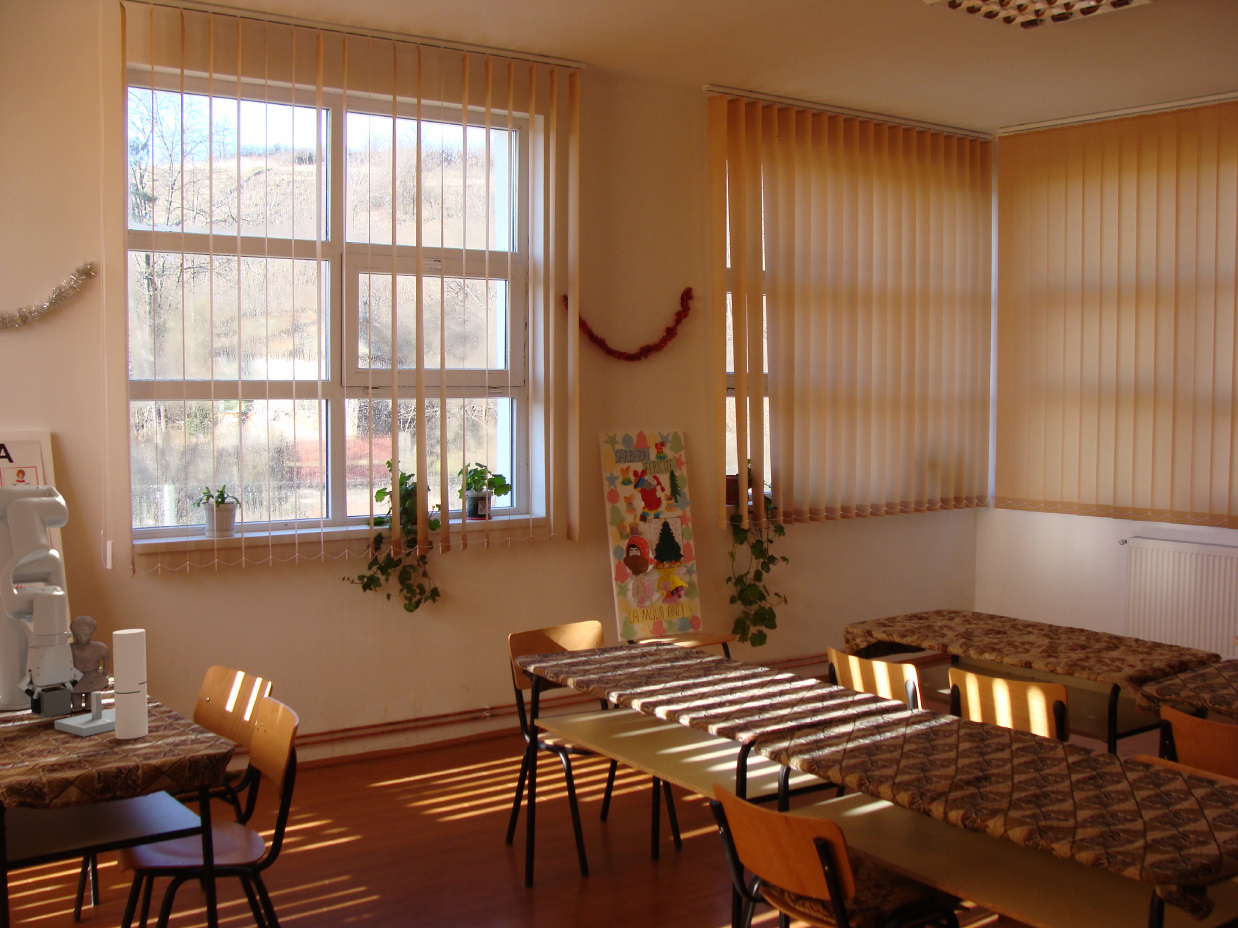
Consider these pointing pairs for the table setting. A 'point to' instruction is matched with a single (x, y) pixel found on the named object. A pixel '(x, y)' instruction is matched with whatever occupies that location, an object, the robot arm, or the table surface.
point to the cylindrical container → (130, 683)
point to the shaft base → (89, 719)
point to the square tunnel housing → (54, 701)
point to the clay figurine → (87, 662)
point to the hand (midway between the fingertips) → (51, 709)
